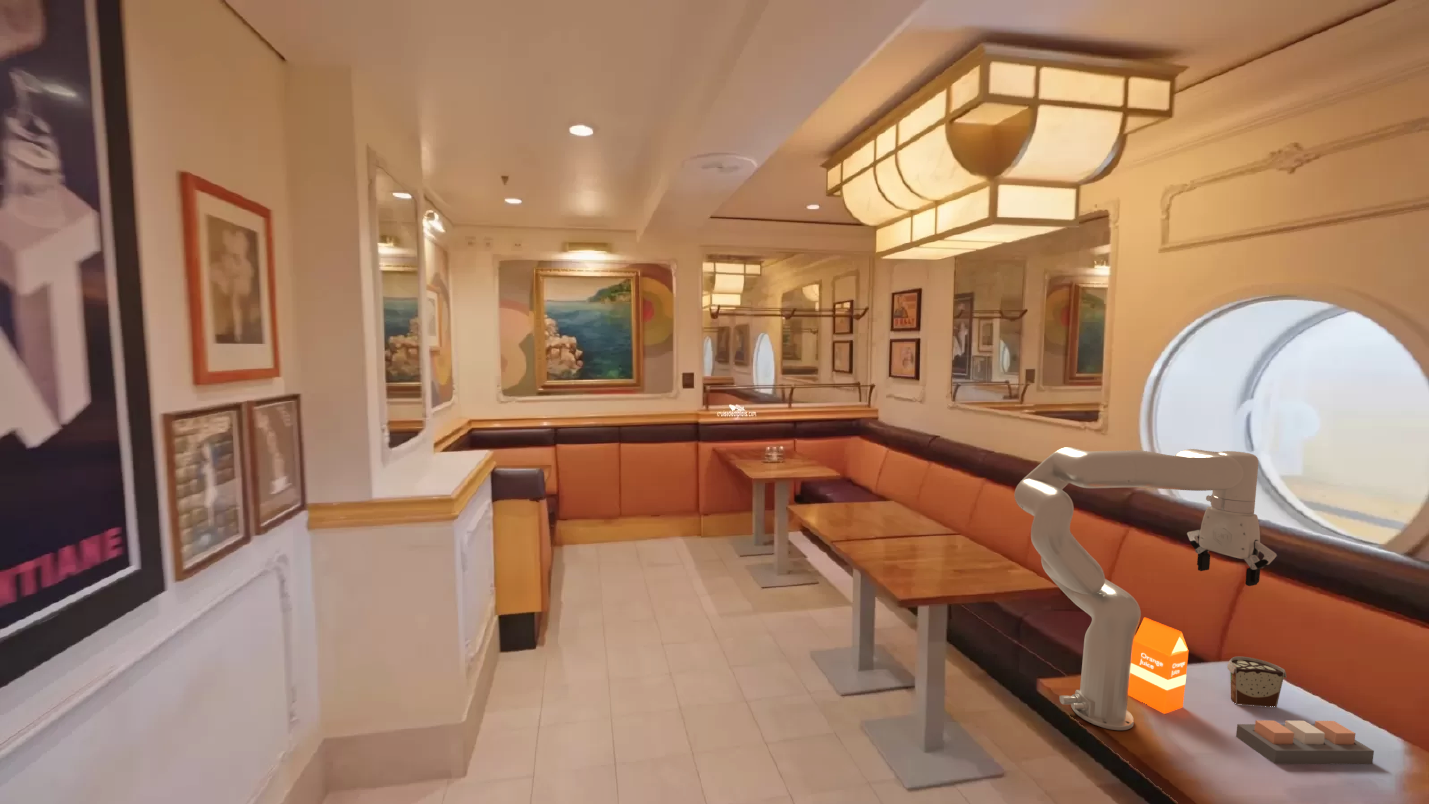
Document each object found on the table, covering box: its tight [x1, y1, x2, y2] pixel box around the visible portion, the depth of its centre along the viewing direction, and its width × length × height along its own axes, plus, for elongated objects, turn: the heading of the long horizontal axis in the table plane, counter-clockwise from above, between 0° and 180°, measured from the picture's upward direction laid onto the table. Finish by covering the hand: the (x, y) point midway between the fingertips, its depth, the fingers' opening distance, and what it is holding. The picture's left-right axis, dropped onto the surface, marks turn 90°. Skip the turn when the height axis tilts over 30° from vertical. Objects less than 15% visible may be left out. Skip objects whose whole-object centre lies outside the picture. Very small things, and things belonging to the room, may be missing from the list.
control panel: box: [1235, 723, 1375, 765], centre depth 133 cm, size 22×9×3 cm, turn 92°
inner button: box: [1254, 719, 1294, 744], centre depth 132 cm, size 4×4×4 cm
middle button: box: [1284, 720, 1325, 745], centre depth 132 cm, size 4×4×4 cm
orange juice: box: [1128, 616, 1189, 715], centre depth 149 cm, size 8×9×20 cm
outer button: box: [1314, 720, 1356, 745], centre depth 133 cm, size 4×4×4 cm
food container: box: [1226, 656, 1287, 708], centre depth 152 cm, size 12×6×10 cm, turn 84°
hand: (1226, 577), depth 140 cm, fingers open, 9 cm apart
